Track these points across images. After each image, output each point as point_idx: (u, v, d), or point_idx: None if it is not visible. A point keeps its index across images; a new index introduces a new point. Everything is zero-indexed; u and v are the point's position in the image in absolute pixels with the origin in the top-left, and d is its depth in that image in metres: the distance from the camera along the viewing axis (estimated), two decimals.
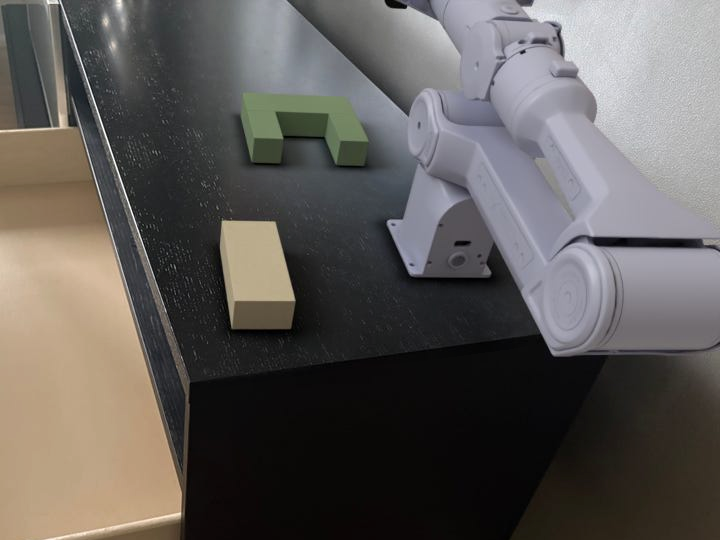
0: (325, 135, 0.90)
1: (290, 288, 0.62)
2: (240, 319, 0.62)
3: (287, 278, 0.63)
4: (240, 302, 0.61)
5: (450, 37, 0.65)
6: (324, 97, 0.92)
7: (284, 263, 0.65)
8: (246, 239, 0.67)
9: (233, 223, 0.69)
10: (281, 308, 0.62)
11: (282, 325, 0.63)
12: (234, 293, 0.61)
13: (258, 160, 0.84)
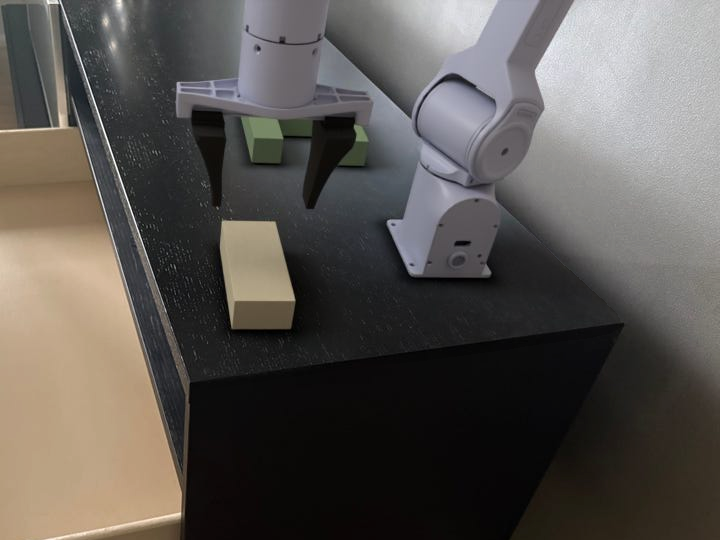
0: None
1: (290, 288, 0.62)
2: (240, 319, 0.62)
3: (287, 278, 0.63)
4: (240, 302, 0.61)
5: (323, 11, 0.50)
6: None
7: (284, 263, 0.65)
8: (246, 239, 0.67)
9: (233, 223, 0.69)
10: (281, 308, 0.62)
11: (282, 325, 0.63)
12: (234, 293, 0.61)
13: (258, 160, 0.84)
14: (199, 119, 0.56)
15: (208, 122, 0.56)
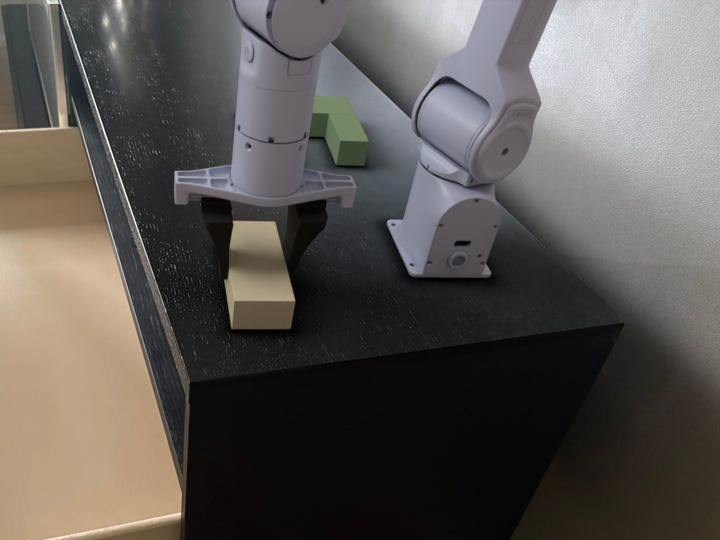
0: (325, 135, 0.90)
1: (290, 288, 0.62)
2: (240, 319, 0.62)
3: (286, 278, 0.63)
4: (240, 303, 0.61)
5: (308, 113, 0.55)
6: (324, 97, 0.92)
7: (284, 263, 0.65)
8: (246, 239, 0.67)
9: (233, 223, 0.69)
10: (281, 308, 0.62)
11: (282, 325, 0.63)
12: (234, 293, 0.61)
13: None
14: (208, 205, 0.60)
15: (216, 208, 0.60)
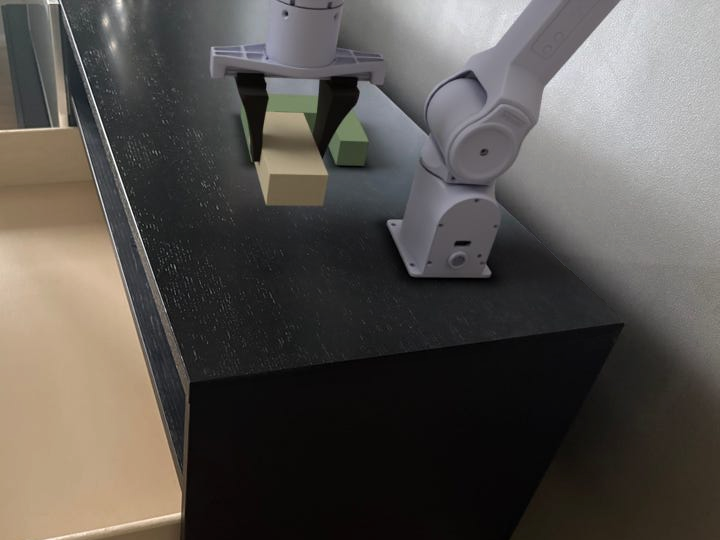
0: None
1: (322, 165, 0.64)
2: (274, 194, 0.64)
3: (318, 157, 0.65)
4: (275, 176, 0.62)
5: None
6: None
7: (315, 145, 0.67)
8: (276, 126, 0.69)
9: None
10: (314, 183, 0.63)
11: (315, 201, 0.65)
12: (269, 168, 0.63)
13: None
14: (244, 80, 0.62)
15: (252, 83, 0.62)
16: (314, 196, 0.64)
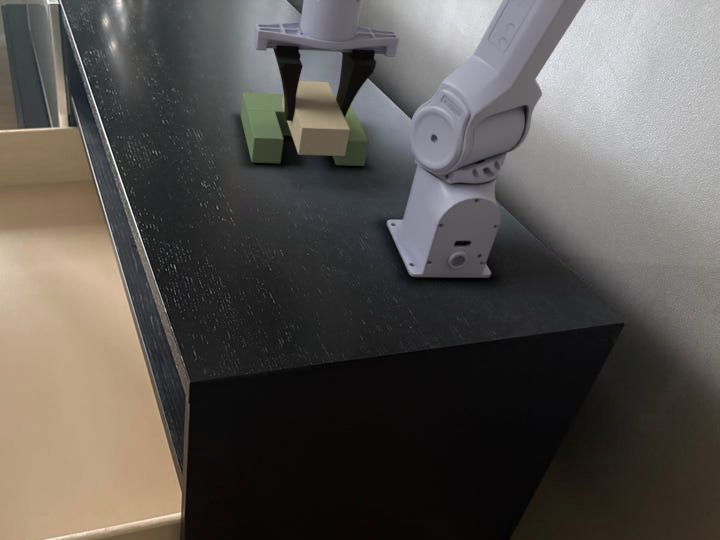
0: None
1: (345, 122, 0.79)
2: (305, 145, 0.78)
3: (341, 116, 0.80)
4: (306, 129, 0.77)
5: None
6: None
7: (338, 107, 0.81)
8: (306, 92, 0.83)
9: None
10: (338, 136, 0.78)
11: (338, 152, 0.79)
12: (301, 123, 0.77)
13: (258, 160, 0.84)
14: (282, 51, 0.76)
15: (288, 54, 0.76)
16: (337, 147, 0.79)
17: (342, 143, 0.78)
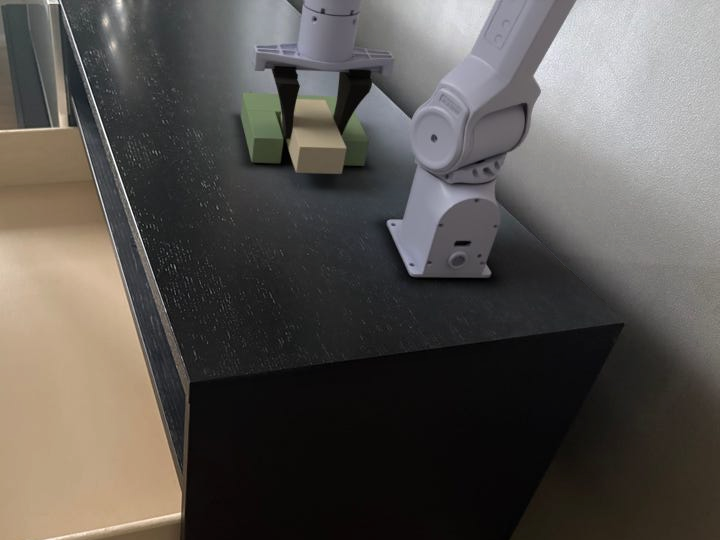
0: None
1: (341, 140, 0.80)
2: (303, 164, 0.79)
3: (338, 134, 0.81)
4: (304, 148, 0.78)
5: None
6: (324, 97, 0.92)
7: (335, 125, 0.83)
8: (303, 110, 0.85)
9: None
10: (335, 155, 0.79)
11: (335, 170, 0.80)
12: (299, 142, 0.79)
13: (258, 160, 0.84)
14: (279, 72, 0.78)
15: (286, 74, 0.78)
16: (335, 165, 0.80)
17: (339, 161, 0.80)
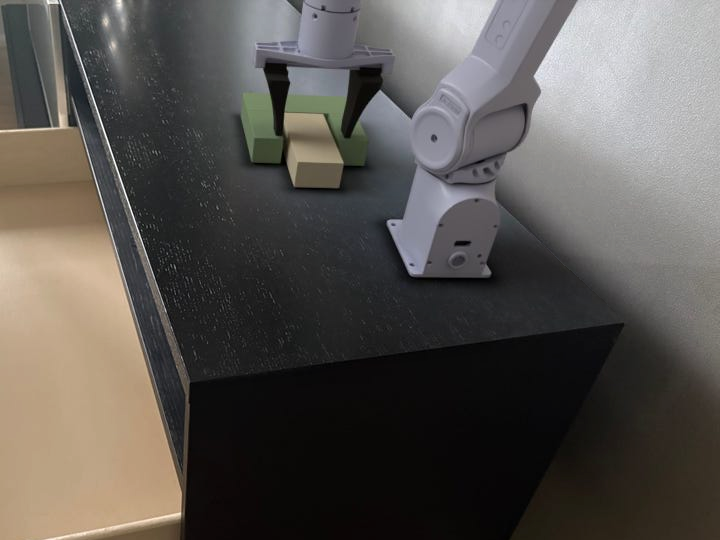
0: None
1: (339, 155, 0.81)
2: (301, 178, 0.81)
3: (336, 149, 0.82)
4: (301, 163, 0.79)
5: None
6: (324, 97, 0.92)
7: (333, 140, 0.84)
8: (301, 124, 0.86)
9: (290, 114, 0.88)
10: (332, 169, 0.80)
11: (332, 184, 0.81)
12: (296, 157, 0.80)
13: (258, 160, 0.84)
14: (270, 69, 0.77)
15: (276, 71, 0.77)
16: (332, 180, 0.81)
17: (336, 176, 0.81)
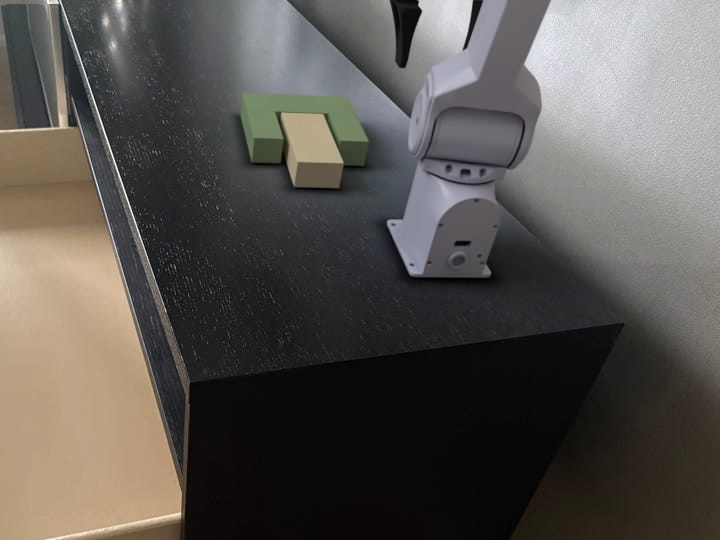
0: None
1: (339, 155, 0.81)
2: (301, 178, 0.81)
3: (335, 149, 0.82)
4: (301, 163, 0.79)
5: None
6: (324, 97, 0.92)
7: (333, 140, 0.84)
8: (301, 124, 0.86)
9: (290, 114, 0.88)
10: (332, 169, 0.80)
11: (332, 184, 0.81)
12: (296, 157, 0.80)
13: (258, 160, 0.84)
14: None
15: (407, 0, 0.79)
16: (332, 180, 0.81)
17: (336, 176, 0.81)
